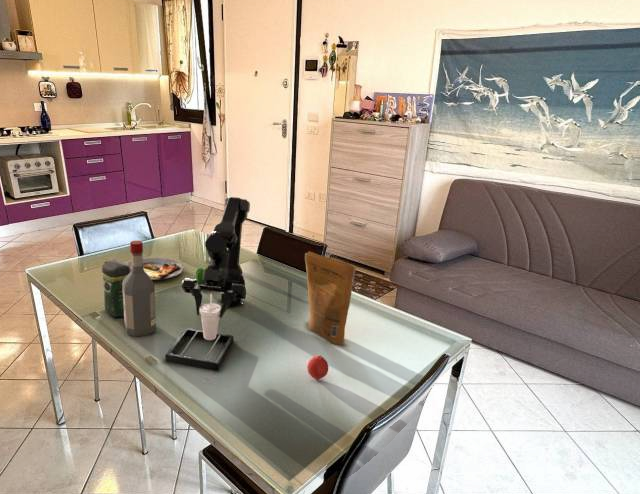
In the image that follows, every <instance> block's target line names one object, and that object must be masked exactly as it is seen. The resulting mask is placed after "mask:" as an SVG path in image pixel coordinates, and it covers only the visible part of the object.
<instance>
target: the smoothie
mask: <svg viewBox="0 0 640 494" xmlns="http://www.w3.org/2000/svg"><path fill="white" fill-rule="evenodd" d="M221 308H222V305H220V304H217V303H214V302H213V293H212V292H210V293H209V302H206V303H203V304H201V306H200V308H199V312H200V321H201V328H202V331H203V335H204V338H205V339H206V341H211V340H214V339H215V338H216V335H217V333H218V328H219V322H220V311H221ZM205 339H204V340H205Z"/></svg>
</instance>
